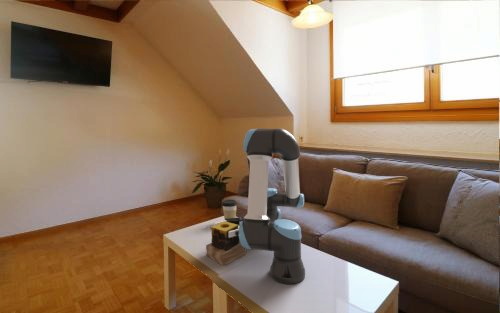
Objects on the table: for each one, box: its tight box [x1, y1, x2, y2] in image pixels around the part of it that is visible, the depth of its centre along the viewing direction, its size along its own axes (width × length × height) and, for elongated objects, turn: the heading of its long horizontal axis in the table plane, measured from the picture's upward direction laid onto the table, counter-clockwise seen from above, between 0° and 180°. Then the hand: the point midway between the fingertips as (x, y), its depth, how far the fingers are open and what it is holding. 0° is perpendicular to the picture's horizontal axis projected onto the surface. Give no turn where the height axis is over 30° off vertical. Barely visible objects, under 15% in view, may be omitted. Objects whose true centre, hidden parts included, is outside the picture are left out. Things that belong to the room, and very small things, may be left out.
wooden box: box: [205, 241, 247, 266], centre depth 135 cm, size 14×14×6 cm
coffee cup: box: [221, 199, 238, 220], centre depth 176 cm, size 10×10×15 cm
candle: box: [210, 220, 240, 251], centre depth 134 cm, size 10×10×10 cm
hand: (221, 230), depth 133 cm, fingers open, 13 cm apart
